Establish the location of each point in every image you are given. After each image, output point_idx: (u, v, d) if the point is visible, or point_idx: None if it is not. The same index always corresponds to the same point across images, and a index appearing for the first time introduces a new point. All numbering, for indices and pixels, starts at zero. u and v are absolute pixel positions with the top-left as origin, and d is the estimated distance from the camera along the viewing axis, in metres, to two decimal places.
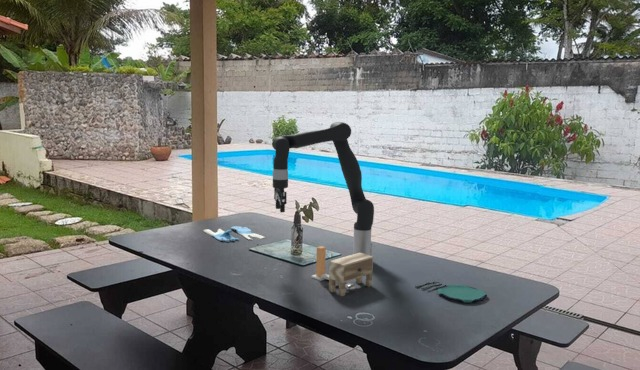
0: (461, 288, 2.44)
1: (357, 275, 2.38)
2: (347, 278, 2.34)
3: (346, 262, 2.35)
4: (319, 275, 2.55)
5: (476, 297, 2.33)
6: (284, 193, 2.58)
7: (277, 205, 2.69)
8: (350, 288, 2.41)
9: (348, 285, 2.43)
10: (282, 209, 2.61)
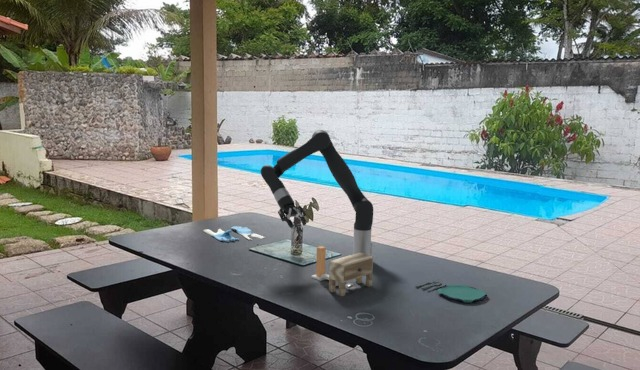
0: (461, 288, 2.44)
1: (357, 275, 2.38)
2: (347, 278, 2.34)
3: (346, 262, 2.35)
4: (319, 275, 2.55)
5: (476, 297, 2.33)
6: (279, 211, 2.62)
7: (302, 222, 2.67)
8: (350, 288, 2.41)
9: (348, 285, 2.43)
10: (289, 224, 2.60)
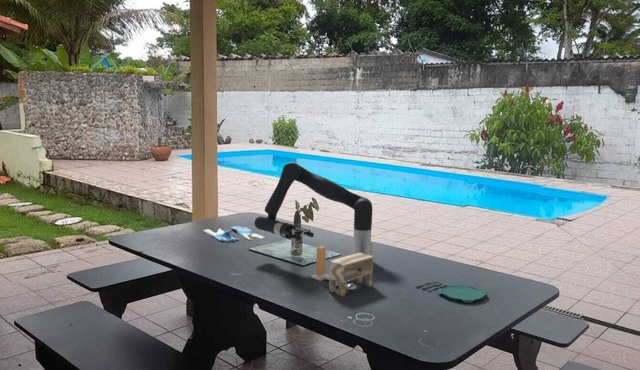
0: (461, 288, 2.44)
1: (357, 275, 2.38)
2: (347, 278, 2.34)
3: (346, 262, 2.35)
4: (319, 275, 2.55)
5: (476, 297, 2.33)
6: (282, 234, 2.63)
7: (310, 235, 2.65)
8: (350, 288, 2.41)
9: (348, 285, 2.43)
10: (296, 237, 2.59)
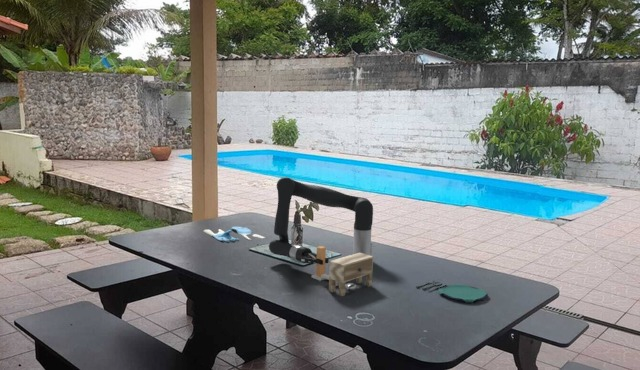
0: (462, 288, 2.45)
1: (357, 275, 2.38)
2: (347, 278, 2.34)
3: (346, 262, 2.35)
4: (319, 275, 2.55)
5: (477, 297, 2.33)
6: (302, 259, 2.55)
7: None
8: (351, 288, 2.41)
9: (348, 285, 2.42)
10: (319, 262, 2.53)
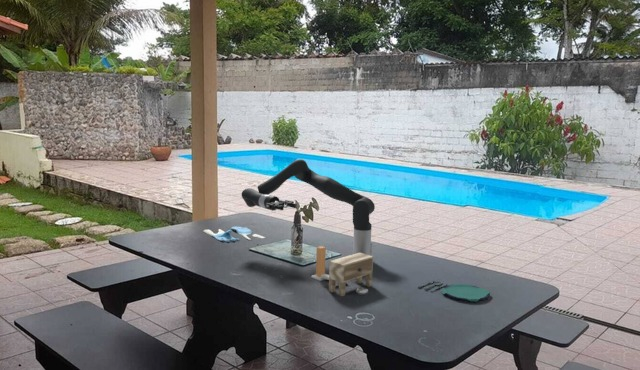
0: (463, 287, 2.45)
1: (357, 275, 2.38)
2: (347, 278, 2.34)
3: (346, 262, 2.35)
4: (319, 275, 2.55)
5: (480, 296, 2.34)
6: (266, 205, 2.73)
7: (292, 206, 2.75)
8: (363, 292, 2.36)
9: (360, 289, 2.37)
10: (279, 208, 2.69)
